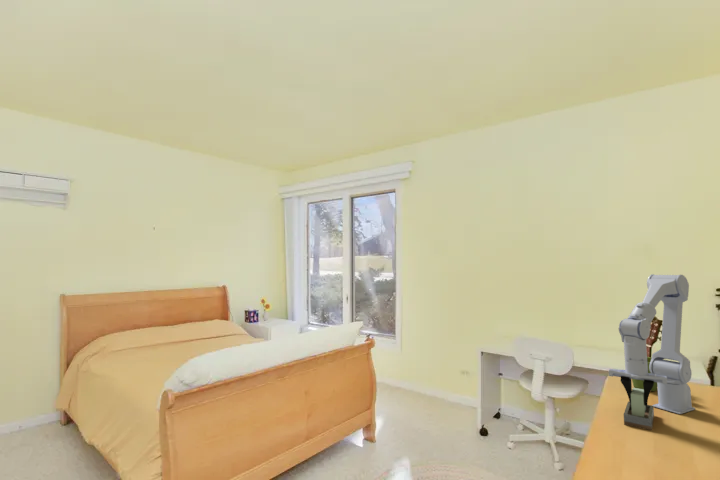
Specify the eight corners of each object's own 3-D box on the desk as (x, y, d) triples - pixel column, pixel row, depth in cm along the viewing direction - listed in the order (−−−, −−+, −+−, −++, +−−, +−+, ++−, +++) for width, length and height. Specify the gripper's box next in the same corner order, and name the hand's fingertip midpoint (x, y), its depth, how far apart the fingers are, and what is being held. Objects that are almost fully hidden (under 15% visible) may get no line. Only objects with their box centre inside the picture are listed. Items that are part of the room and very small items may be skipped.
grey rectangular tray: (628, 410, 126) (628, 401, 126) (654, 415, 121) (653, 405, 122) (624, 424, 115) (623, 414, 115) (651, 430, 111) (651, 419, 111)
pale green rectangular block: (634, 407, 122) (632, 387, 123) (645, 409, 120) (644, 389, 121) (631, 414, 116) (630, 394, 116) (644, 416, 114) (642, 396, 115)
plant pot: (666, 395, 140) (664, 364, 141) (627, 390, 146) (625, 360, 147) (663, 387, 150) (661, 357, 150) (626, 382, 156) (624, 354, 157)
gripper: (606, 357, 121) (608, 402, 120) (665, 364, 112) (668, 412, 111) (609, 353, 126) (611, 396, 125) (665, 359, 117) (668, 405, 116)
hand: (638, 403), depth 118 cm, fingers closed on pale green rectangular block, 3 cm apart
